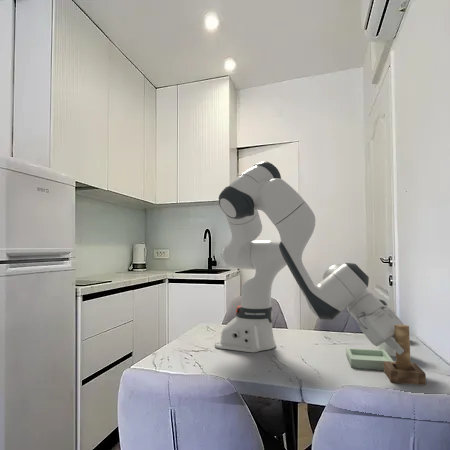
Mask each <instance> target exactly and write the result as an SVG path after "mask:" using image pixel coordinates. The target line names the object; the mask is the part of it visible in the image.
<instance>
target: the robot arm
mask: <svg viewBox="0 0 450 450" xmlns="http://www.w3.org/2000/svg"><path fill="white" fill-rule="evenodd" d="M218 205H219V207H220V209H221V210H222V212H223V214H225V216H226V221H227V222H228V225H229V229H230V232H231V239H230V241H229V242H228V243H227V244H226V245H225V246H224V248H223V253H222V258H223V262H224V264H225V265H226V266H227V267H228V268H232V269H237V270H255V274H254V276H253V277H251V278H250V279H247V280H246V281H244V283H242V285H241V289H240V297H241V298H240V300H241V301H240V302H241V304H240V305H238V306H237V307H236V308H235V314H236V315H235V317H234V318H232V319H231V320H230V321H229V322H227V324H226V325H224V327H223V328H222V330H221V335H220V337H219V338H218V339H216V340H215V342H214V347H215V348H216V349H222V350H230V351H237V352H238V351H239V352H246V353H247V352H248V353H259V352H260V351H268V350H271V349H275V347H277V345H276V341H275V336H274V332H273V319H274V318H273V316H274V315H273V307H272V288H273V287H272V286H273V283H274V281H275V278H276V276H277V275H278V274H279V272H280V271H282V270H283V269H284V268H285V267H286V266H287V267H288V270H289V271H290V272H291V274H292V276H293V278H294V280H295V281H296V284H297V285H298V287H299V289H300V290H301V292H302V294H303V296H304V298H305V301H306V303H307V305H308V308H309V309H310V311H311V313H312V314H313V315H314V316H315V317H316V318H318V319H319V320H322V321H323V320H325V321H326V320H327V321H331V320H333V321H334V319H335V318H336V317H337V316H339V314H341V312H342V311H343V310H344V309H345V308H346V310H347V312H348V313H349V314H350V315H351V316H352V317H353V319H355V320H356V322H357V323H358V327H359V329H360V330H361V331H362V333H363V334H364V335H365V337H366V338H367V339H368V340H369V342H370V343H371V344H372V345H373V344H374V345H375V346H379V345H380V344H382V343H384V342H385V343H386V344H387V345H388V346H389V347H391V348H392V349H394V350H395V351H396V352H397V353H398V354H402V353H403V352H404V351H405V349H404V348H403V347H402V346H401V345H399V344H398V343H397V342H396V341H394V339H395V325H405V324H404V323H403V321H402V320H401V319H400V318H399V317H398V316H397V315H396V313H395V312H394V311H393V310H392V309H391V308H389V304H388V303H387V302H386V301H385V300H384V299H380V298H378V297H377V296H375V295H374V294H373V293H372V292H371V291H370V290H368V289H367V288H369V282H370V281H369V280H370V277H369V276H368V275H367V274H366V273H365V272H364V271H363V270H362V269H361V267H359V266H358V265H357V264H356V263H351V262H345V263H343V264H341V263H335V264H333V265H331V266H330V267H328V268H327V269H326V270H325V271H324V273H323V276H322V280H320V282H318V284H315V283H314V282H313V279H312V278H311V276H310V274H309V273H308V270H307V269H306V268H305V266H304V264H303V260H302V258H303V253H304V250H305V248H306V246H307V244H308V243H309V241H310V239H311V237H312V235H313V233H314V230H315V227H316V216H315V213H314V211H313V210H312V208H311V207H310V205H309V204H308V203H307V202H306V201H305V199H304V198H303V197H302V196H301V195H300V194H299V192H297V191H296V189H294V187H292V186H291V185H290V184H289V183H288V182H286V181H285V180H284V179H282V176H281V173H280V171H279V169H278V168H277V167H276V166H275V165H274V164H273V163H271V162H269V161H260V162H258V163H255V164H254V165H253V166H252V167H251V168H248V169H247V170H245V171H244V172H242V173H241V174H240V175H238V177H237V178H235V179H234V180H233V181H232V182H231V183H230V184H229V185H228V186H226V187H224V188H223V189H222V191H221V192H220V193H219V195H218ZM259 211H262V212H263V213H264V214H265V215H266V217H268V219H269V221H270V222H271V223H272V224H273V225H274V227H275V228H276V230H277V232H278V234H279V238H280V241H277V240H274V239H273V240H271V239H269V240H266V239H264V240H262V239H260V240H259V239H258V240H256V239H257V238H258V237H259V236H260V235H261V233H262V230H263V225H262V220H261V218H260V214H259Z"/></svg>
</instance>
